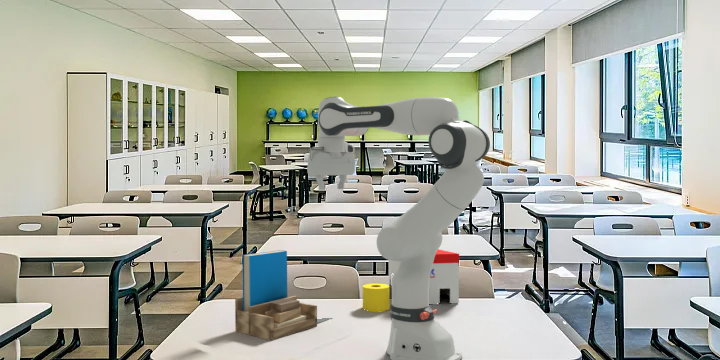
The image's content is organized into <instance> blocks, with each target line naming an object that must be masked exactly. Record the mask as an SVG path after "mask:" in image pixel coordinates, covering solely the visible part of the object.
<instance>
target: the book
mask: <svg viewBox="0 0 720 360" xmlns="http://www.w3.org/2000/svg"><path fill="white" fill-rule="evenodd" d="M241 257H242V261H241V262H242V264H241V265H242V296H243V311H247V312H249V307H250V306H254V305H258V304H263V303H267V302H271V301H275V300H279V299H283V298H288V251H287V250H280V249H278V250H272V251H264V252H256V253H248V254H242V256H241Z"/></svg>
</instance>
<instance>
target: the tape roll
mask: <svg viewBox="0 0 720 360" xmlns="http://www.w3.org/2000/svg"><path fill="white" fill-rule="evenodd" d="M390 293H391V292H390V285H389V284H386V283H367V284H363V285H362V309H365V310H368V311H372V312H371V313H380V312H379V311H384V312H386V311H385V310H387V309H389V308H390V309H391V304H390V303H391V302H390ZM390 309H389V310H390ZM365 310H364V311H365ZM368 311H367V312H368ZM387 311H388V310H387Z"/></svg>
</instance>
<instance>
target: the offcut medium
mask: <svg viewBox="0 0 720 360" xmlns="http://www.w3.org/2000/svg"><path fill="white" fill-rule="evenodd" d="M265 316H269V317H274V323H278V324H281V323H284V322H287V321H289V320H292V319H295V318H298V317H301V308H300V307H299V308H298V309H294V310H290V311H286V312H282V313H280V312H276V311H272V310H270V311H267V312H265Z"/></svg>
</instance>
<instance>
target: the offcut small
mask: <svg viewBox="0 0 720 360" xmlns="http://www.w3.org/2000/svg"><path fill="white" fill-rule="evenodd" d="M299 302H300V300H293V299H285V300H281V301H276V302H272V303H271V310H272V311H276V312H280V313H282V312H286V311H290V310H294V309H298V308H299Z"/></svg>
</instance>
